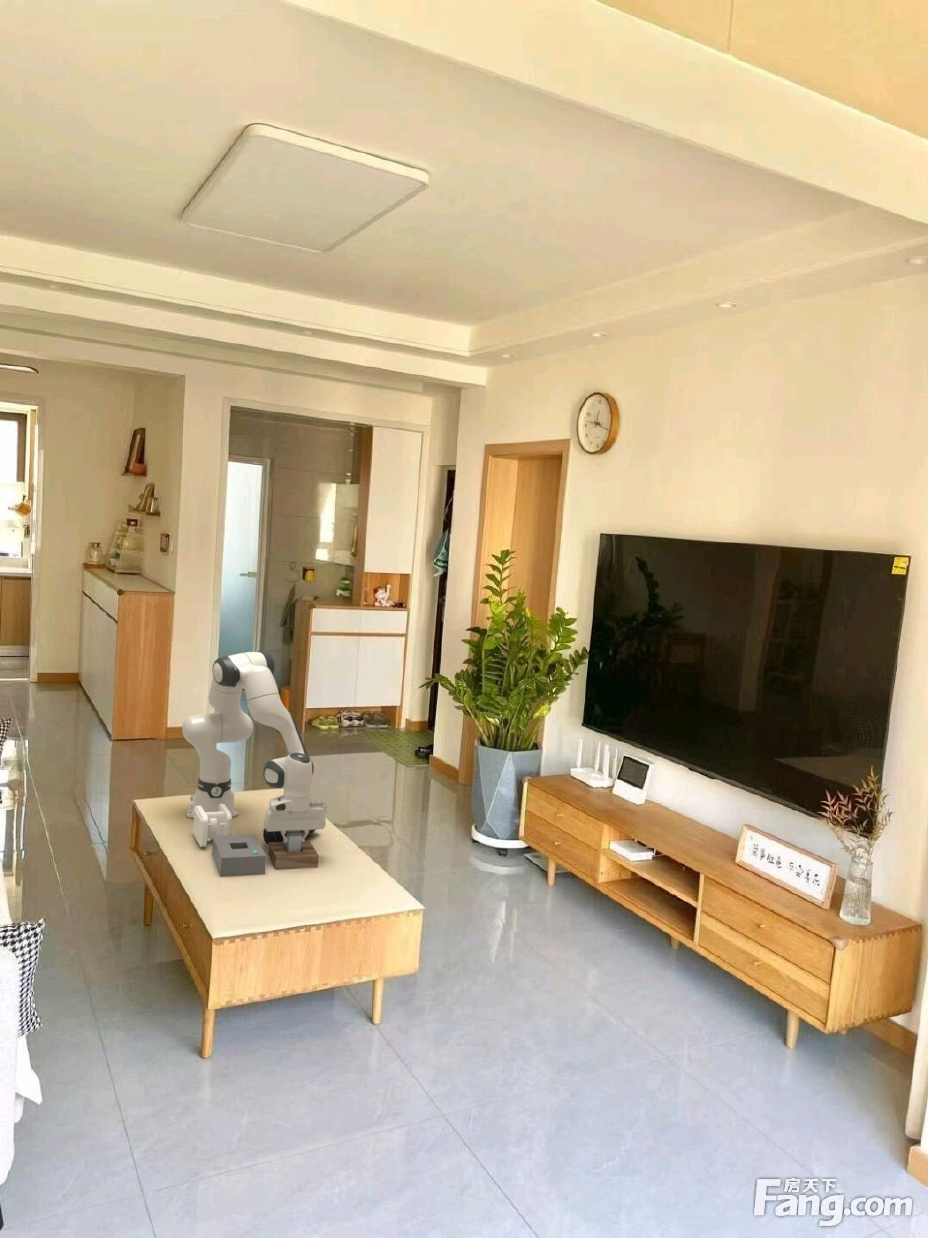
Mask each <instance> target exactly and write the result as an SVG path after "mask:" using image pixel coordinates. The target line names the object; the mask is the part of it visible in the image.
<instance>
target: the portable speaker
mask: <svg viewBox="0 0 928 1238" xmlns="http://www.w3.org/2000/svg"><path fill="white" fill-rule="evenodd" d="M300 831H301V833H302V835H303V833H304V831H303V830H300ZM315 832H316V830H309V833H308V834H307V836H306V837H308V836H310V835H312V834H313V833H315ZM284 835H285V837H287V831H286V834H284ZM262 836H263V841H264V843H265V844H266V845H267V846H268V843H269V842H283V836H282V834H281V832H280V831H272V832H268V831H266V829H265V828H264V827H263V831H262Z"/></svg>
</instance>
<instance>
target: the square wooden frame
mask: <svg viewBox="0 0 928 1238" xmlns="http://www.w3.org/2000/svg"><path fill="white" fill-rule="evenodd" d="M267 855H268V857H269V859H270V861H271V863H272V865H273V867H274V869H275V870H289V869H305V868H306V869H307V868H308V869H309V868H319V854H318V852H317V850H316V848H314V846H313V844H312V843H311V840H305V842H304V843H301V851H300V852H286V843H283V842H269V843H268V845H267Z"/></svg>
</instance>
